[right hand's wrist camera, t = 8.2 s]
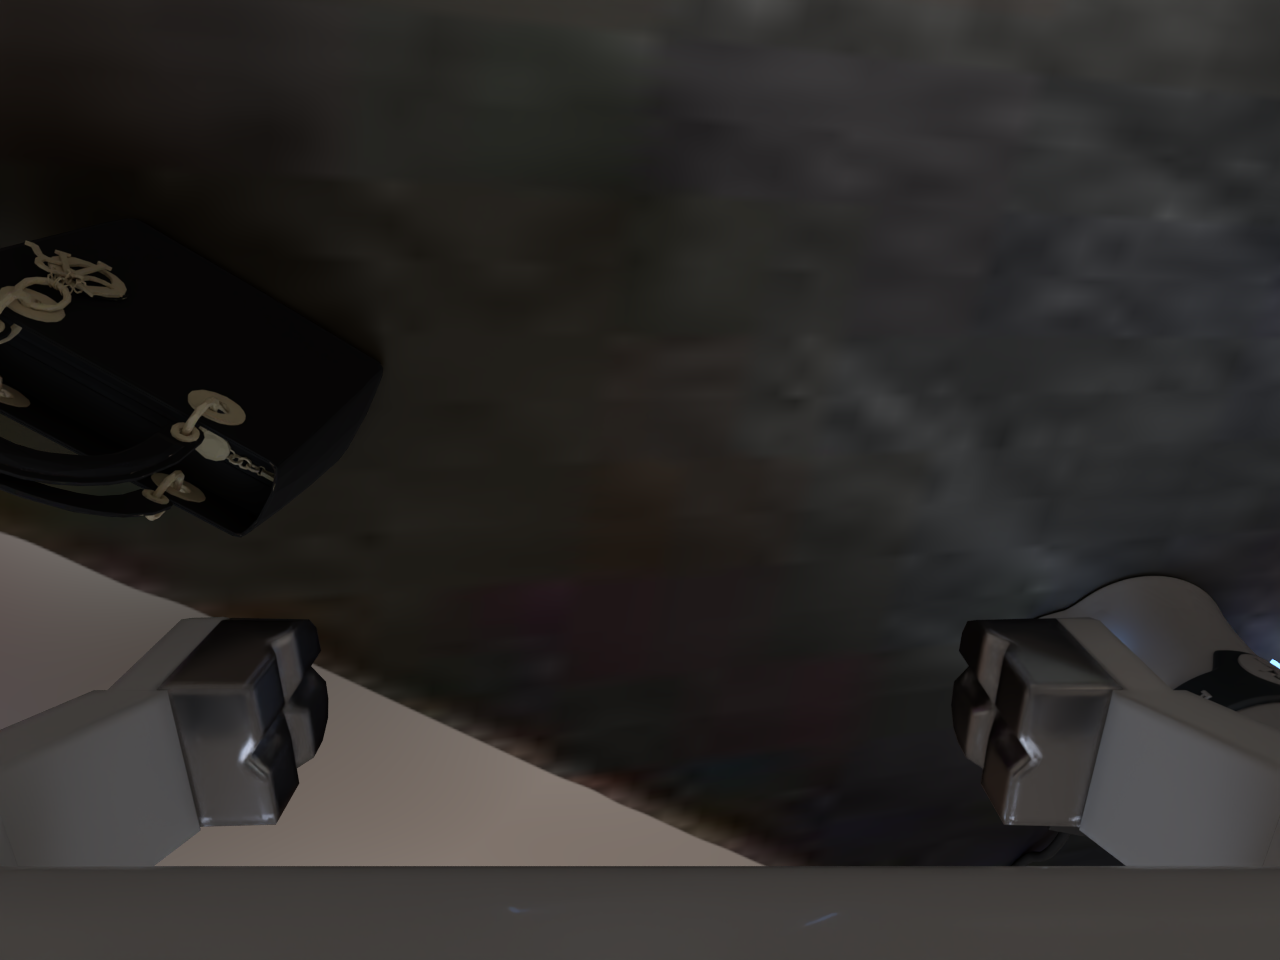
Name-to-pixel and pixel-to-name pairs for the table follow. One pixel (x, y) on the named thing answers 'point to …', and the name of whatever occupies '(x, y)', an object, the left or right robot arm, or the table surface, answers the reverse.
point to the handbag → (166, 381)
